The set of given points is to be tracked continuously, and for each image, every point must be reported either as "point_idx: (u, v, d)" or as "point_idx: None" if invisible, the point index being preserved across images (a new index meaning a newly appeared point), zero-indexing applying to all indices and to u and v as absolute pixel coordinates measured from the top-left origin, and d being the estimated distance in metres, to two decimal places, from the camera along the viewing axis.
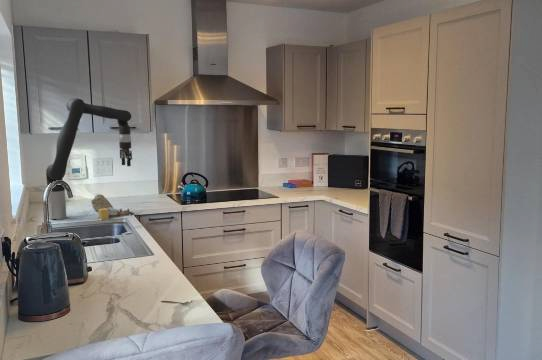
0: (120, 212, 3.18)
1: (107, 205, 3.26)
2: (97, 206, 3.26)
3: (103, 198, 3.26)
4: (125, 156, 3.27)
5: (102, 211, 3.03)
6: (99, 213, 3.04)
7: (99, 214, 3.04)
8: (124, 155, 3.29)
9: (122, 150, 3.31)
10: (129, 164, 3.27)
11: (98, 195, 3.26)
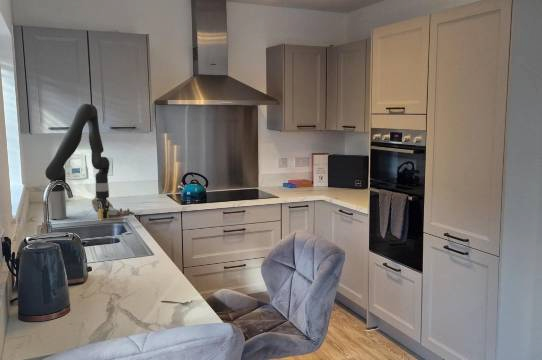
0: (120, 212, 3.18)
1: None
2: (97, 206, 3.26)
3: None
4: (101, 207, 3.02)
5: (102, 211, 3.03)
6: (99, 213, 3.04)
7: (99, 214, 3.04)
8: (101, 204, 3.04)
9: (99, 199, 3.06)
10: (105, 216, 3.03)
11: None
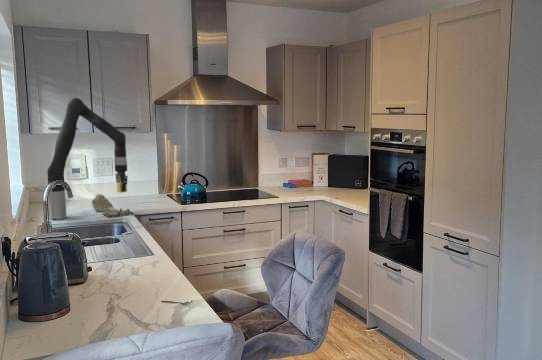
0: (120, 212, 3.18)
1: (108, 205, 3.26)
2: (98, 206, 3.26)
3: (104, 198, 3.26)
4: (120, 180, 3.13)
5: None
6: (118, 186, 3.15)
7: (118, 187, 3.15)
8: (119, 178, 3.15)
9: (117, 173, 3.16)
10: (124, 189, 3.14)
11: (98, 195, 3.26)
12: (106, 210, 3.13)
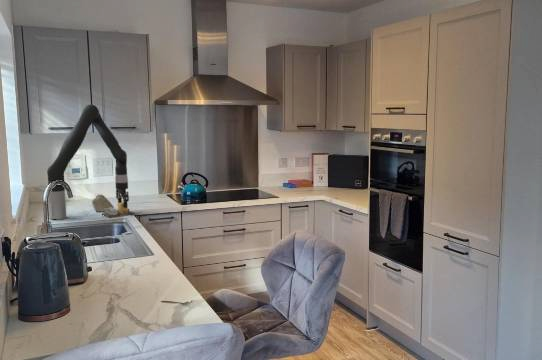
0: None
1: (108, 205, 3.26)
2: (98, 206, 3.25)
3: (104, 198, 3.26)
4: (121, 197, 3.14)
5: (122, 205, 3.15)
6: (119, 207, 3.17)
7: (119, 208, 3.17)
8: (120, 196, 3.16)
9: (118, 190, 3.18)
10: (126, 205, 3.14)
11: (99, 195, 3.26)
12: (106, 210, 3.13)
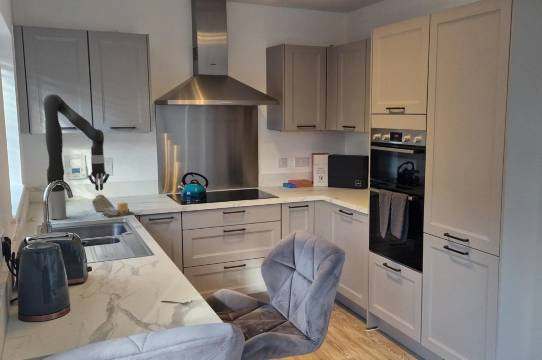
0: None
1: (108, 205, 3.25)
2: (98, 206, 3.25)
3: (104, 198, 3.26)
4: None
5: (122, 205, 3.15)
6: (119, 207, 3.17)
7: (119, 208, 3.17)
8: None
9: None
10: (96, 188, 3.06)
11: (99, 195, 3.25)
12: (106, 210, 3.13)
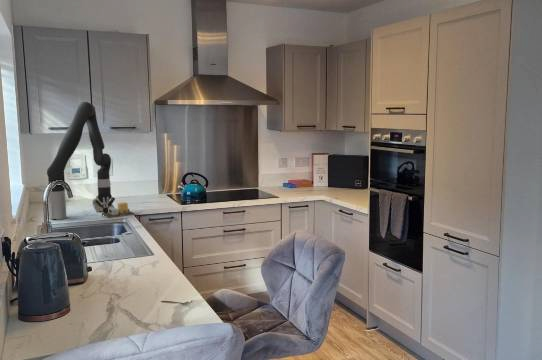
0: None
1: None
2: (98, 206, 3.25)
3: None
4: (101, 202, 3.11)
5: (122, 205, 3.15)
6: (119, 207, 3.17)
7: (119, 208, 3.17)
8: None
9: None
10: None
11: None
12: None
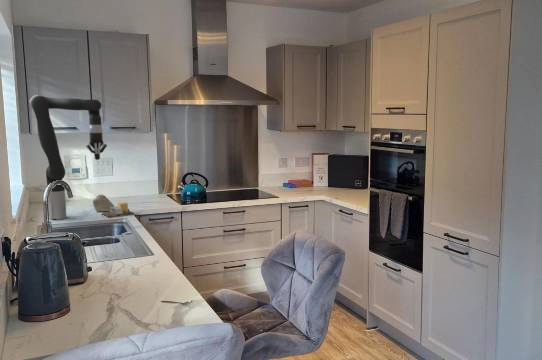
0: None
1: (109, 205, 3.25)
2: (99, 206, 3.25)
3: (105, 198, 3.25)
4: None
5: (122, 205, 3.15)
6: (119, 207, 3.17)
7: None
8: None
9: None
10: (95, 157, 3.13)
11: (100, 195, 3.25)
12: (111, 209, 3.15)
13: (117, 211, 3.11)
